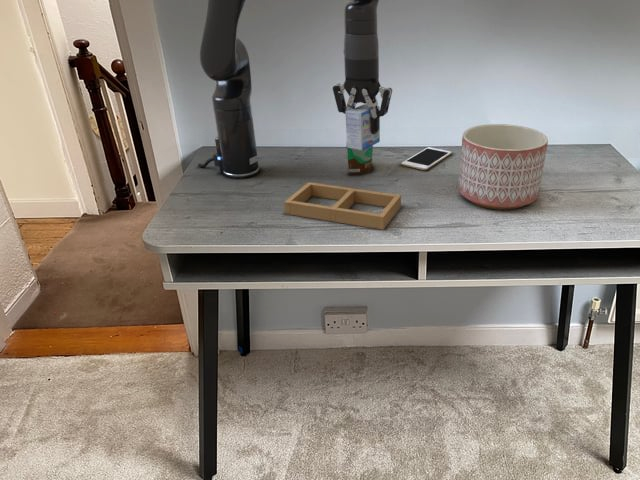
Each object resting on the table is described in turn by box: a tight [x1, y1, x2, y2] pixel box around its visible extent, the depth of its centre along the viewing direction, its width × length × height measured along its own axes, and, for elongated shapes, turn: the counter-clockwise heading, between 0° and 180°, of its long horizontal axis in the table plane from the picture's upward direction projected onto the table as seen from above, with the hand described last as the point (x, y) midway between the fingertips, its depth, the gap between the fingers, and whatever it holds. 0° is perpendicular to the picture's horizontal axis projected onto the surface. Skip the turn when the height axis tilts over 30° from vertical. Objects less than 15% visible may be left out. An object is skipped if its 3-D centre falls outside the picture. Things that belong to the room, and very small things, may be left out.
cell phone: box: [401, 146, 452, 171], centre depth 155 cm, size 8×16×1 cm, turn 148°
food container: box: [345, 141, 374, 176], centre depth 146 cm, size 12×6×10 cm, turn 168°
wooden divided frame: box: [284, 181, 402, 230], centre depth 126 cm, size 24×12×3 cm, turn 71°
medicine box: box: [345, 103, 381, 151], centre depth 129 cm, size 8×4×9 cm, turn 148°
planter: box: [458, 123, 549, 210], centre depth 130 cm, size 19×19×15 cm
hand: (363, 131), depth 130 cm, fingers closed on medicine box, 5 cm apart
